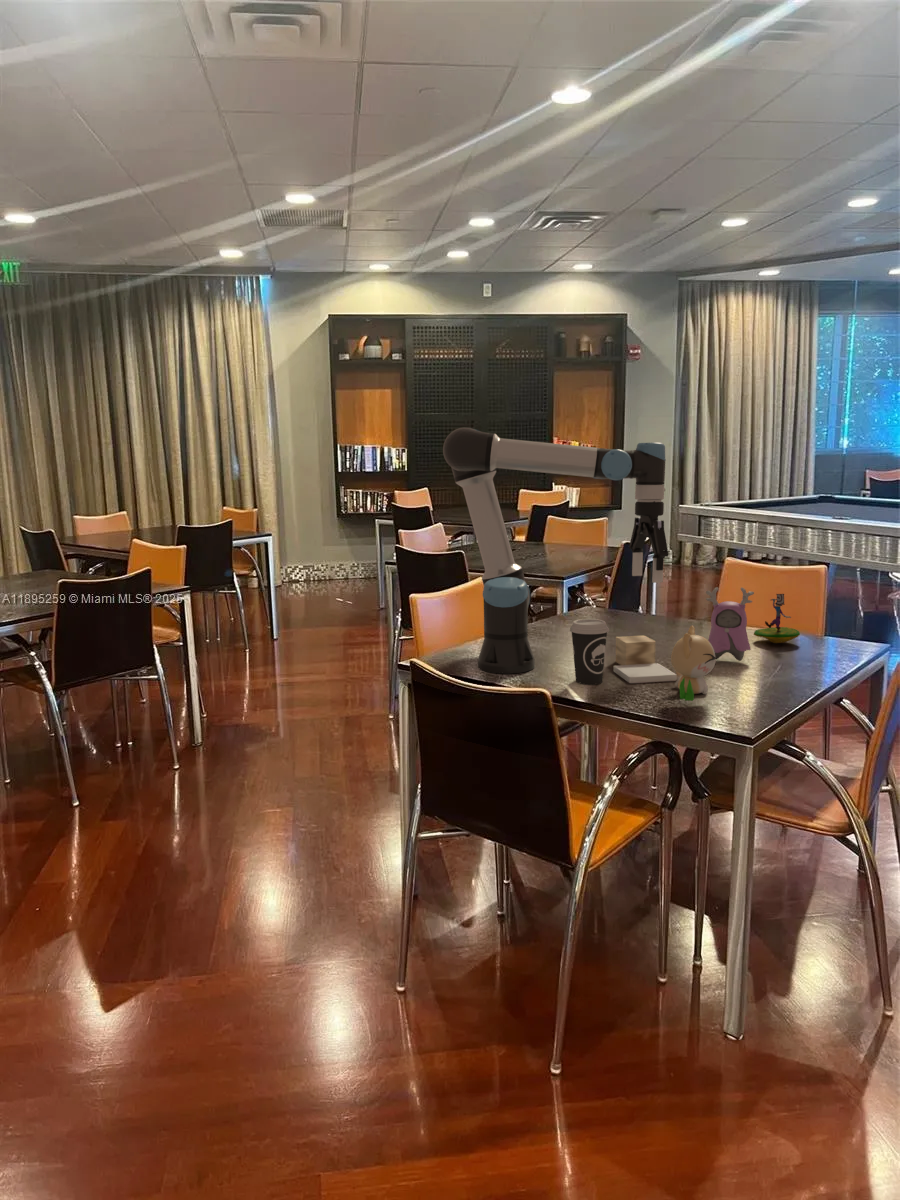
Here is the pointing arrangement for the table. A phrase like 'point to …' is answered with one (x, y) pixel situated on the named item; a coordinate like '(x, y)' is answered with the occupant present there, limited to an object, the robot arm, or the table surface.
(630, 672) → the grey tile
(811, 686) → the table surface
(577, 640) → the coffee cup
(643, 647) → the maple brick
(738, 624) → the toy character
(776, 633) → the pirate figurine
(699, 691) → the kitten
